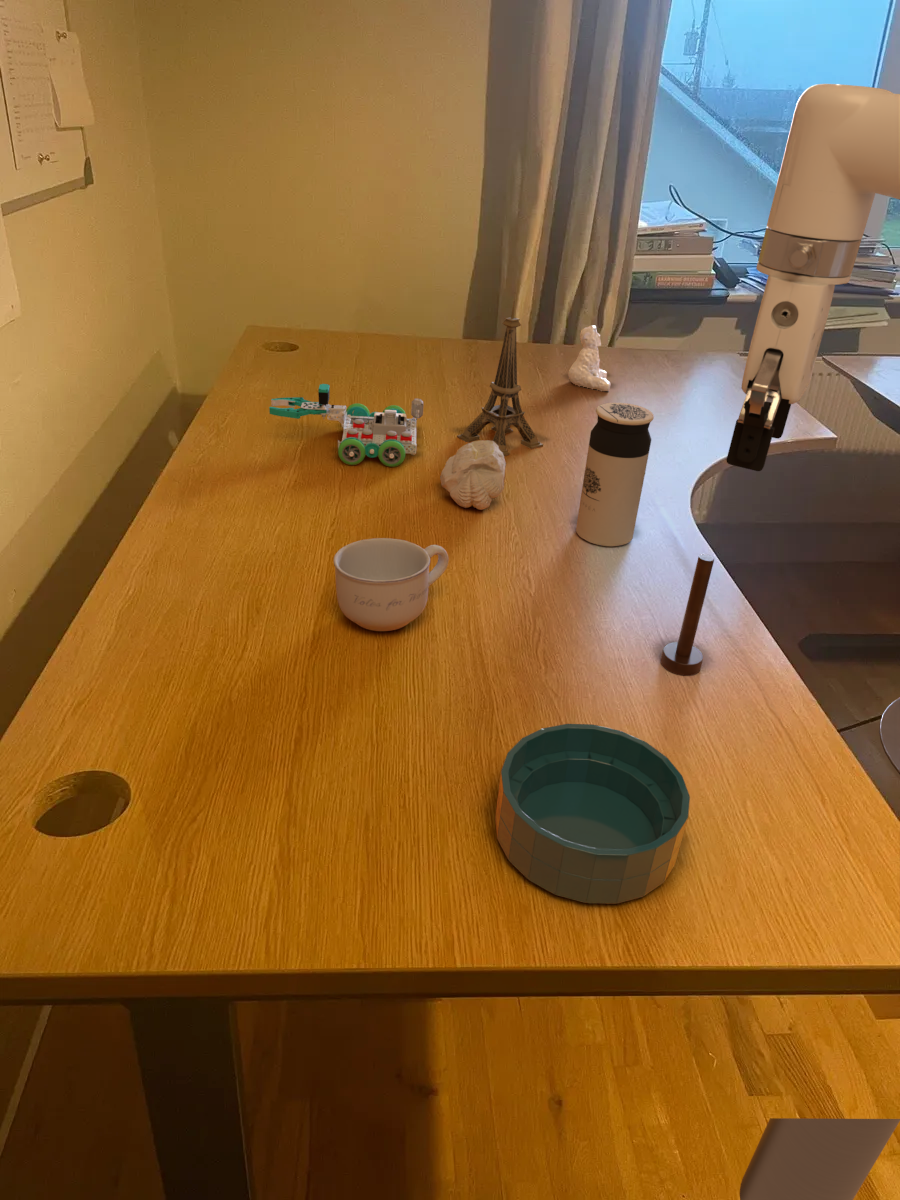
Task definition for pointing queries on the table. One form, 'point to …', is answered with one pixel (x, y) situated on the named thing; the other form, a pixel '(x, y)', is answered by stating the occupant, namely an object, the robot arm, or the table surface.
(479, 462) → the fossil replica
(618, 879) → the bowl
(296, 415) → the robot kit
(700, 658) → the stirring stick
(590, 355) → the sitting furry creature
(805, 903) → the table surface
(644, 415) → the travel mug
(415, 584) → the teacup
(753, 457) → the robot arm
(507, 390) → the eiffel tower
